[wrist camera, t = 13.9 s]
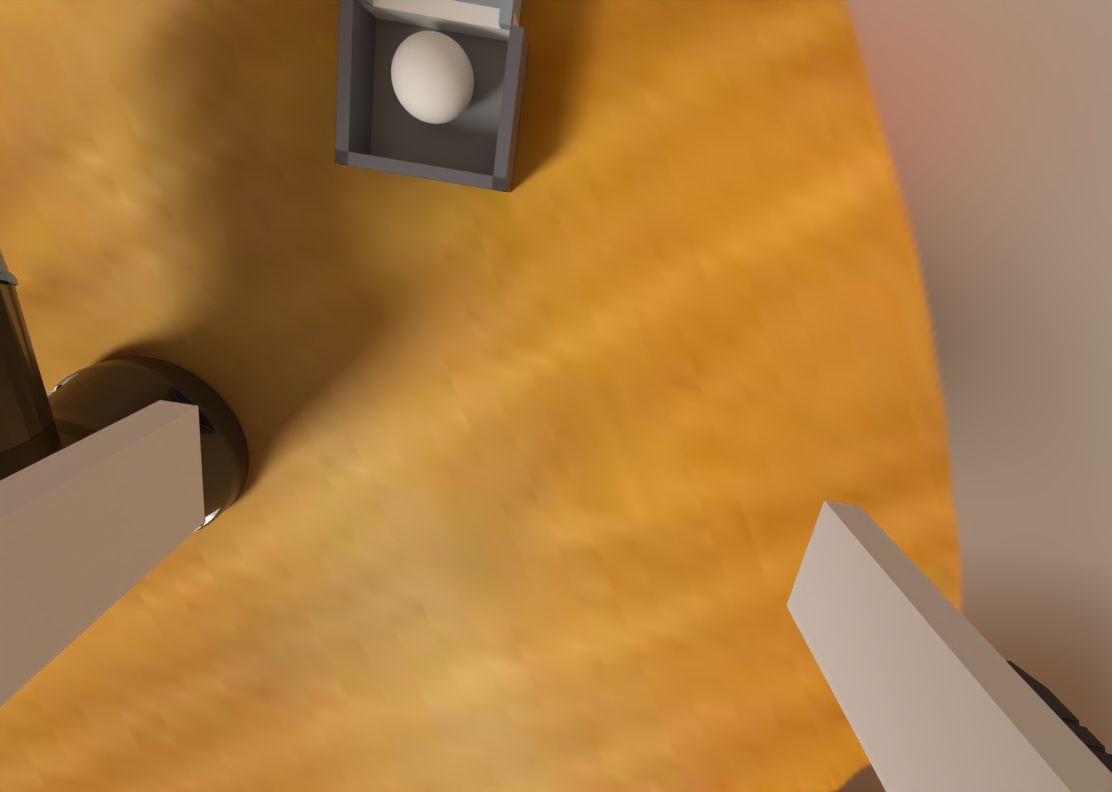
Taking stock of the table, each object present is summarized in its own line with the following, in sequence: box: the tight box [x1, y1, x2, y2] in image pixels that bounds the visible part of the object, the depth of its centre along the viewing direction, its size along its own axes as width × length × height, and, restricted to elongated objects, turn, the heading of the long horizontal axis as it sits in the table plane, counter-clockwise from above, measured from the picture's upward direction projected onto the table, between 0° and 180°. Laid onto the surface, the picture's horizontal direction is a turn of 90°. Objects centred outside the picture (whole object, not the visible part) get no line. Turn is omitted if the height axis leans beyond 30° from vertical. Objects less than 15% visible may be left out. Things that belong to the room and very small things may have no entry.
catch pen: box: [335, 0, 529, 192], centre depth 36 cm, size 9×11×4 cm
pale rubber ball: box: [391, 31, 474, 124], centre depth 35 cm, size 5×5×5 cm
